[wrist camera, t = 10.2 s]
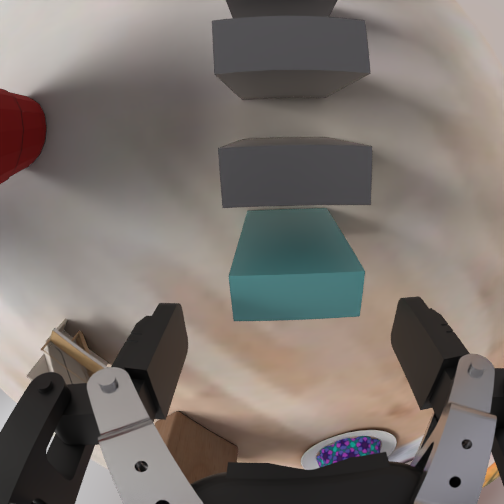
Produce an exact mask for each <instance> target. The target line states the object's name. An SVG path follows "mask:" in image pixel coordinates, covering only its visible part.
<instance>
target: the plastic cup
mask: <svg viewBox="0 0 504 504" xmlns="http://www.w3.org/2000/svg"><path fill="white" fill-rule="evenodd" d="M45 136H46V121H45V114H44V112H43V110H42V108H41V106H40V104H39V103H37V102H36V101H34V100H33V99H30V98H29V97H27V96H23V95H19V94H14V93H10V92H8V91H6V90H3V89H0V184H1V183H3V182H4V181H6V180H8V179H9V177H10V176H12V175H14V174H16V173H17V172H19V171H21V170H23V169H25V168H27V167H28V166H29V165H30V164H31V163H33V162H34V161H35V160H36V158H37V157H38V156H39V155H40V153H41V150H42V148H43V145H44V142H45Z"/></svg>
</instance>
